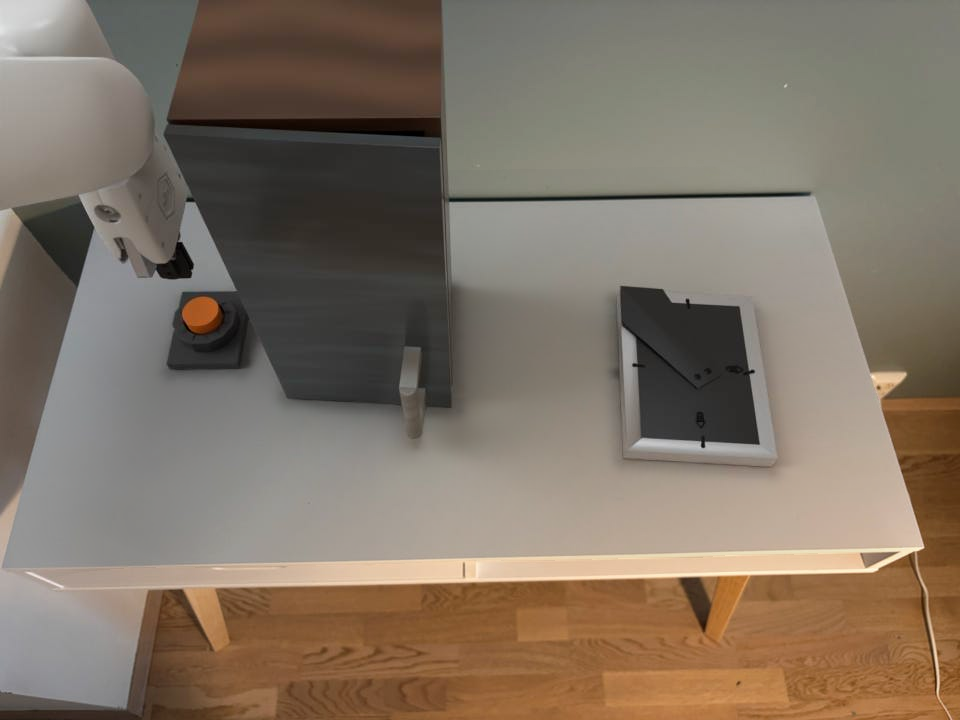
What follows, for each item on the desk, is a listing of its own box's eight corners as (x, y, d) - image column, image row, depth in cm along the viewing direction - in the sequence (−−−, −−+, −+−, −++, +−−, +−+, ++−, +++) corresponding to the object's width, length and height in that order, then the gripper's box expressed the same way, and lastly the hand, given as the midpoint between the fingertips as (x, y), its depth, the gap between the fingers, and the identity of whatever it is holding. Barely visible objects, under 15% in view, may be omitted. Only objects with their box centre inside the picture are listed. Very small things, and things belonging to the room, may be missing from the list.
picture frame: (616, 299, 89) (623, 458, 78) (620, 285, 86) (628, 448, 76) (746, 306, 89) (771, 467, 78) (754, 292, 86) (780, 456, 76)
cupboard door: (448, 451, 78) (432, 209, 45) (277, 441, 79) (139, 194, 46) (452, 399, 82) (441, 137, 49) (288, 390, 82) (166, 123, 49)
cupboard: (452, 386, 83) (441, 117, 49) (288, 388, 82) (165, 119, 49) (451, 285, 90) (441, -10, 56) (300, 287, 89) (201, -9, 56)
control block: (240, 368, 83) (233, 355, 81) (169, 369, 83) (160, 356, 81) (252, 296, 88) (245, 281, 86) (185, 297, 88) (176, 282, 86)
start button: (220, 334, 83) (215, 325, 81) (184, 334, 83) (179, 326, 81) (225, 304, 85) (221, 296, 83) (190, 305, 85) (185, 296, 83)
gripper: (127, 206, 56) (203, 333, 72) (164, 75, 64) (225, 216, 80) (28, 207, 56) (126, 334, 72) (77, 76, 64) (155, 217, 79)
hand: (178, 272), depth 76 cm, fingers closed
